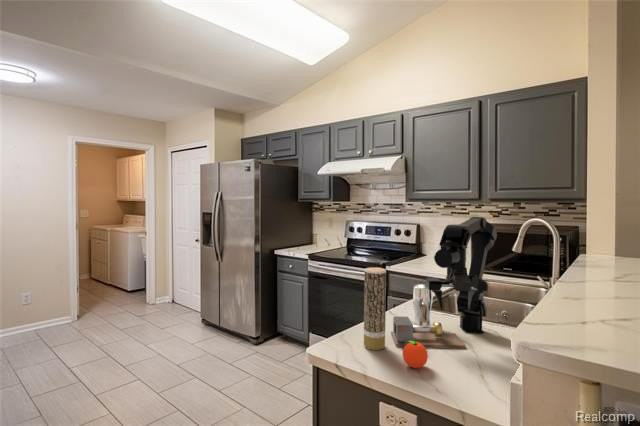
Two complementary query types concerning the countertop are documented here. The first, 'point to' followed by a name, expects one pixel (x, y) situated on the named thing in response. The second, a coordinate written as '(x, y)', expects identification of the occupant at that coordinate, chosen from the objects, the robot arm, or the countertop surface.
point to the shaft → (429, 329)
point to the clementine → (415, 354)
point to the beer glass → (422, 304)
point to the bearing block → (402, 329)
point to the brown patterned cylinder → (374, 308)
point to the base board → (434, 340)
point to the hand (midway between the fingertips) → (455, 309)
